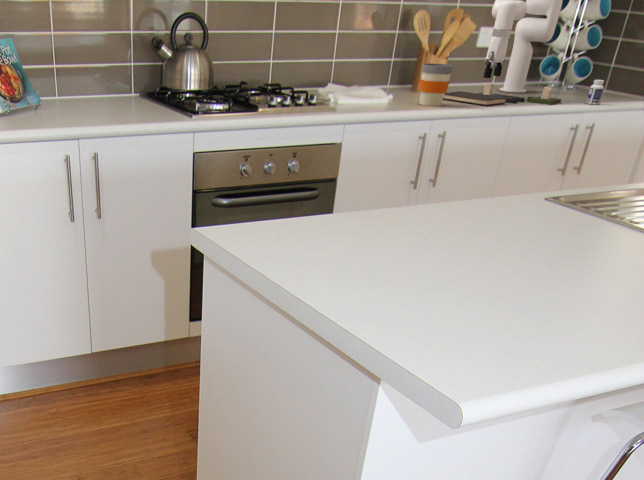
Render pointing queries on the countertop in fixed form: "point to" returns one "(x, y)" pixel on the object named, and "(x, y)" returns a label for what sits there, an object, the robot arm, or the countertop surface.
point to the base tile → (513, 99)
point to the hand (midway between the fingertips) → (491, 76)
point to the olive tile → (543, 101)
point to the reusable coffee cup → (434, 83)
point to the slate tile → (489, 90)
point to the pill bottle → (595, 92)
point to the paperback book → (474, 98)
